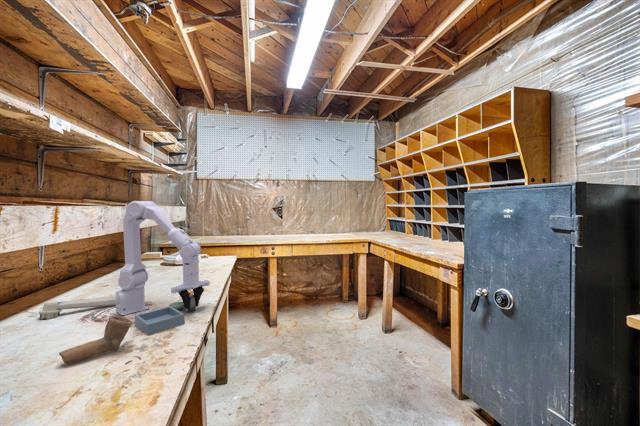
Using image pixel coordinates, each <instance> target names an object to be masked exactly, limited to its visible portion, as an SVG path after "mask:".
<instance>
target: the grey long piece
mask: <svg viewBox="0 0 640 426" xmlns="http://www.w3.org/2000/svg"><path fill="white" fill-rule="evenodd" d="M112 306H113V307H114V306H115V307H116V295H112V294H110V295H108V296H99V297H90V298H82V299H81V298H80V299H72V300H62V301H58V300H48V301H45V302H44V303H43V307H42V309H40V310H39V311H38V314H39V319H41V320H44V319H46V320H52V319H53V318H58V317H60V314H61V312H62V310H70V309H71V310H72V309H85V308H89V309H90V308H99V307H110V308H111V307H112Z"/></svg>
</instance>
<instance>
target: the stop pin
mask: <svg viewBox="0 0 640 426" xmlns="http://www.w3.org/2000/svg"><path fill="white" fill-rule="evenodd" d="M186 312H187V313H188V314H189V313H190V314H192V313H195V312H197V307H196V295H194V294H193V295H189V309H186Z"/></svg>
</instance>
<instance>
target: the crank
mask: <svg viewBox="0 0 640 426" xmlns="http://www.w3.org/2000/svg"><path fill="white" fill-rule="evenodd" d="M187 291H188V292H189V293H190V295H194V294H193V290H187ZM169 306H171V307H173V308H174V309H176V310H179V309H182V308H184V309H185V307H184V303H183V301H176V302H175V301H174V302H171V303H169V305H168V307H169Z"/></svg>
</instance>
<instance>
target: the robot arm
mask: <svg viewBox="0 0 640 426" xmlns="http://www.w3.org/2000/svg"><path fill="white" fill-rule="evenodd" d="M145 220H151V221H153V222H155V223H156V224H157V225H158V226H159V228H161V229H163V231H164V232H165V233H166V234H167V239H168V240H169V241H170V242H171V243H172V245H174V247H176V249H178V250H179V255H180V257H181V260H182V284H180V285H179V284H178V285H177V286H173V287H170V293H171V294H172V295H173V294H176V293H177V294H178V295H179V297H180V298H181V300H182V302H183V303H184V307H185V308H184V310H185V309H186V310H187V309H189V295H190V293H189V292H188V291H191V290H192V291H193V295H196V308H197V307H199V304H200V300H201V297H202V295H203V293H204V291H205V288H204V287H209V286H210V280H207V279H206V280H200V275H199V274H200V273H199V271H200V270H199V269H200V266H199V265H200V264H199V255H200V253H201V251H202V248H201V245H200V243H199V242H198V241H194V240H193V239H192V238H191V237H189V236H188V235H187V234H186V233H185V232H186V231H185V230H184V229H181V228H178V227H175V226H174V224H172V222H171V221H170V220H169V219H168V217H167V216H166V215H165V214H164V213H163V211H162V210H161V207H160V206H159V205H157V204H156V202H155V201H152V200H145V201H144V200H132V201H130V202H129V203H128V204H127V205H125V214H124V217H123V220H122V226H123V227H122V229H123V231H122V232H123V245H124V246H123V248H124V265H123V267H122V268H121V269H120V271H119V276H118V279H117V281H118V282H117V283H118V286H119V287H120V288H121V289H120V290H117V291H116V293H115V296H116V305H115V311H116V313H118V314H119V315H120V316H126V315H130V314H134V313H138V312H141V311H146V310H149V306H147V305H146V304H145V303H146V299H145V298H146V297H145V286H146V282H147V281H148V280H149V273H148V271H147V267H146V265H145V264H144V263H143V262H142V252H141V251H142V250H141V249H142V247H141V229H140V228H141V226H140V225H141V224H142V223H143V222H144V221H145Z"/></svg>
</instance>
